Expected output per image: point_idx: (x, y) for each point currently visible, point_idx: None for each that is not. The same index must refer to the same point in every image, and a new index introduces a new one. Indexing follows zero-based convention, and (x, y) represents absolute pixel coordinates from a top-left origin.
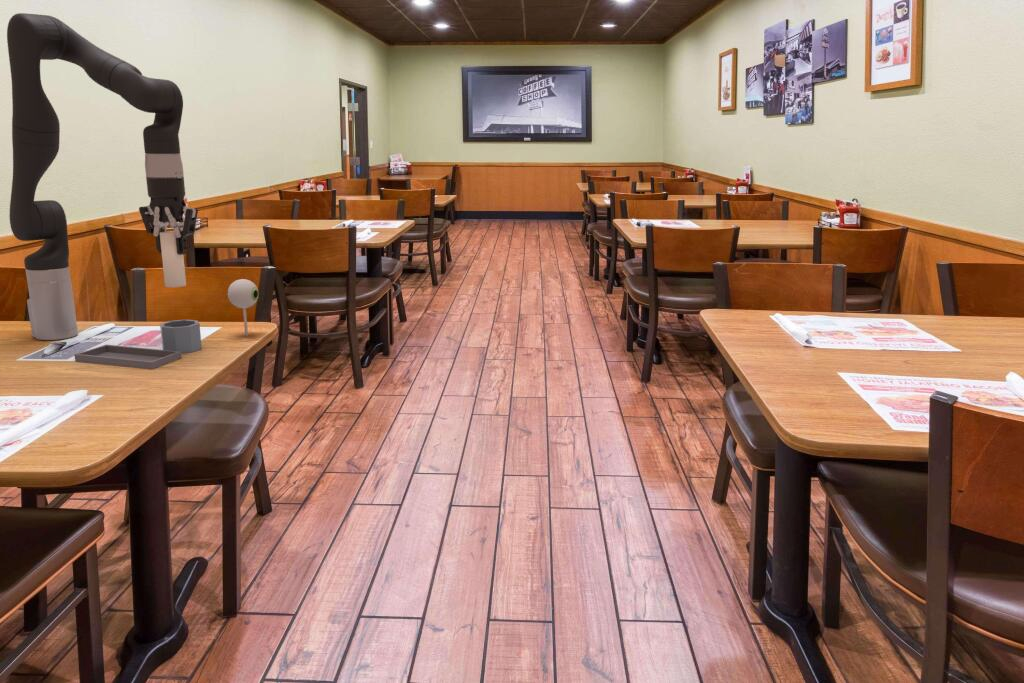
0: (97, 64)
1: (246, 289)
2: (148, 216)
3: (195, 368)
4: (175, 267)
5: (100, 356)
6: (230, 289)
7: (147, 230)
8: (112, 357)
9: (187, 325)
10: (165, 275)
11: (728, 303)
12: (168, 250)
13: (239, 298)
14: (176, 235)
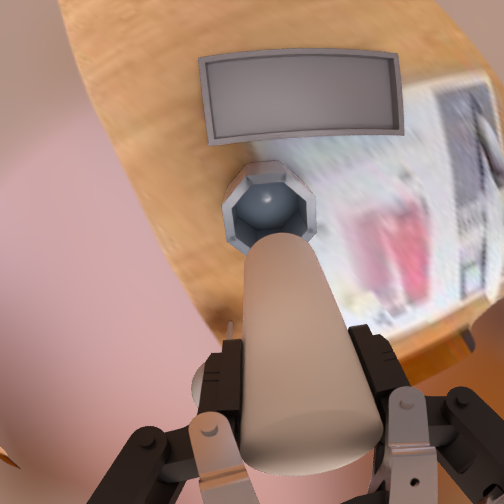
0: None
1: (196, 388)
2: (494, 481)
3: (155, 126)
4: (251, 286)
5: (339, 52)
6: None
7: (469, 396)
8: (309, 52)
9: None
10: (297, 253)
11: (16, 465)
12: (277, 327)
13: None
14: (224, 423)
